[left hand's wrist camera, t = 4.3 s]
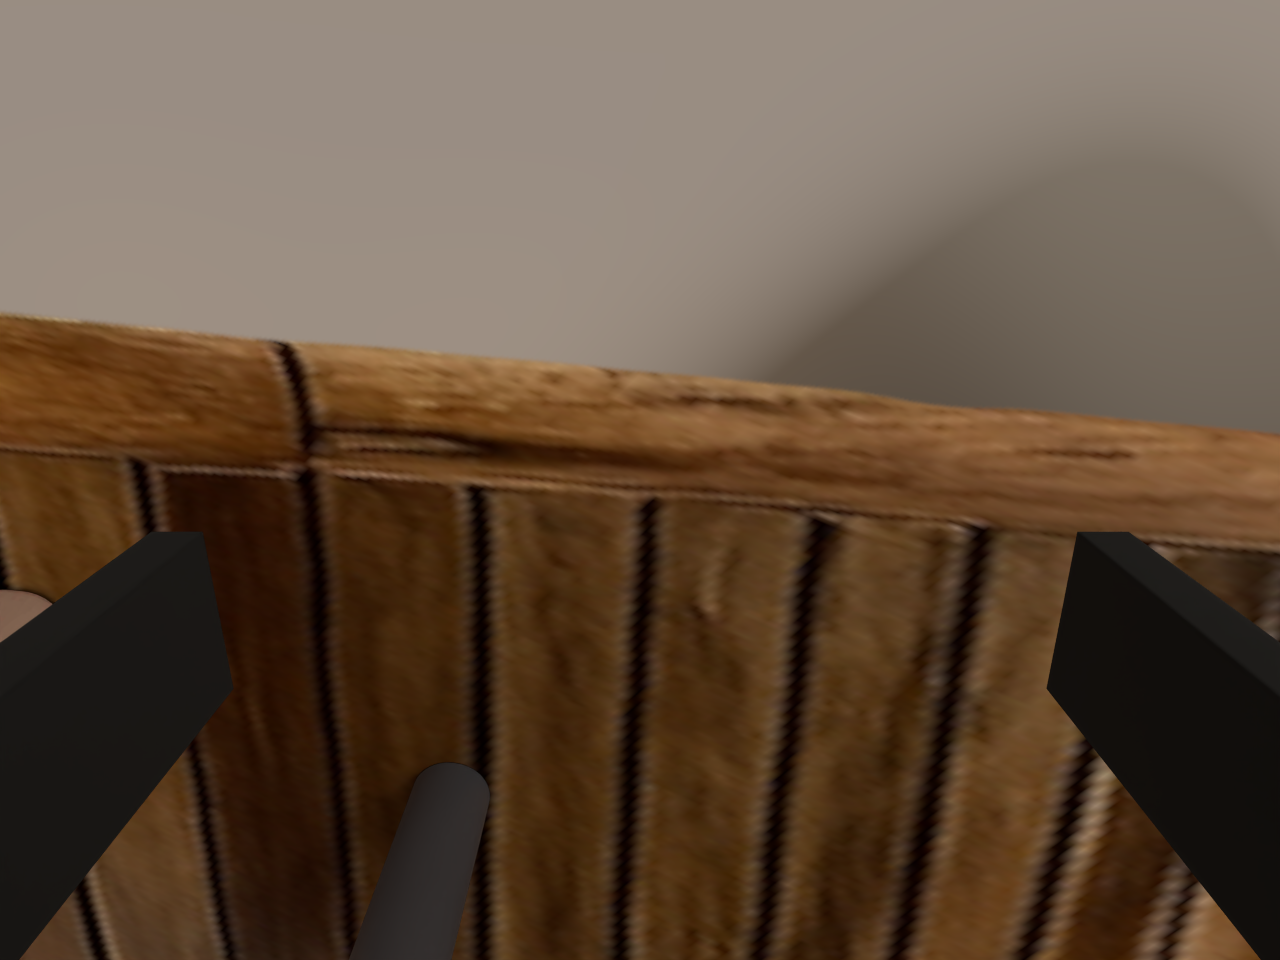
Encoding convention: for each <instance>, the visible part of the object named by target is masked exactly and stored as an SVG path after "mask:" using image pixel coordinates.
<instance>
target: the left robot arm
mask: <svg viewBox="0 0 1280 960" xmlns="http://www.w3.org/2000/svg"><path fill="white" fill-rule="evenodd" d="M232 690H233V684H232V679H231V674H230V669H229V664H228V659H227V653H226V648H225V643H224V638H223V633H222V628H221V623H220V618H219V613H218V608H217V603H216V598H215V593H214V588H213V582H212V577H211V572H210V567H209V562H208V557H207V552H206V547H205V542H204V537H203V532H151V533H149V534H148V535H147V536H145V537H144V538H142V539H141V540H140V541H138V542H137V543H136V544H134V545H133V546H132V547H130V548H129V549H127V550H126V551H125V552H123V553H122V554H121V555H119V556H118V557H116V558H115V559H114V560H112V561H111V562H110V563H108V564H107V565H106V566H104V567H103V568H101V569H100V570H99V571H97V572H96V573H95V574H93V575H92V576H91V577H89V578H88V579H86V580H85V581H84V582H82V583H81V584H80V585H78V586H77V587H75V588H74V589H73V590H71V591H70V592H69V593H67V594H66V595H65V596H63V597H62V598H60V599H59V600H58V601H56V602H55V603H54V604H52V605H51V606H50V607H48V608H47V609H45V610H44V611H43V612H41V613H40V614H39V615H37V616H36V617H34V618H33V619H32V620H30V621H29V622H28V623H26V624H25V625H24V626H22V627H21V628H19V629H18V630H17V631H15V632H14V633H13V634H11V635H10V636H9V637H7V638H6V639H4V640H3V641H2V642H0V960H19V959H20V958H21V957H22V955H23V954H24V953H25V952H26V950H27V949H28V948H29V946H30V945H31V944H32V943H33V941H34V940H35V939H36V938H37V936H38V935H39V934H40V933H41V931H42V930H43V929H44V927H45V926H46V925H47V924H48V922H49V921H50V920H51V919H52V917H53V916H54V915H55V914H56V912H57V911H58V910H59V909H60V907H61V906H62V905H63V903H64V902H65V901H66V900H67V898H68V897H69V896H70V895H71V893H72V892H73V891H74V890H75V888H76V887H77V886H78V884H79V883H80V882H81V881H82V879H83V878H84V877H85V876H86V874H87V873H88V872H89V871H90V869H91V868H92V867H93V866H94V864H95V863H96V862H97V860H98V859H99V858H100V857H101V855H102V854H103V853H104V852H105V850H106V849H107V848H108V847H109V845H110V844H111V843H112V842H113V840H114V839H115V838H116V836H117V835H118V834H119V833H120V831H121V830H122V829H123V828H124V826H125V825H126V824H127V823H128V821H129V820H130V819H131V817H132V816H133V815H134V814H135V812H136V811H137V810H138V809H139V807H140V806H141V805H142V804H143V802H144V801H145V800H146V799H147V797H148V796H149V795H150V793H151V792H152V791H153V790H154V788H155V787H156V786H157V785H158V783H159V782H160V781H161V780H162V778H163V777H164V776H165V774H166V773H167V772H168V771H169V769H170V768H171V767H172V766H173V764H174V763H175V762H176V761H177V759H178V758H179V757H180V756H181V754H182V753H183V752H184V750H185V749H186V748H187V747H188V745H189V744H190V743H191V742H192V740H193V739H194V738H195V737H196V735H197V734H198V733H199V731H200V730H201V729H202V728H203V726H204V725H205V724H206V723H207V721H208V720H209V719H210V718H211V716H212V715H213V714H214V713H215V711H216V710H217V709H218V707H219V706H220V705H221V704H222V702H223V701H224V700H225V699H226V697H227V696H228V695H229V694H230V692H231V691H232ZM1047 690H1048V691H1049V692H1050V694H1051V695H1052V696H1053V697H1054V699H1055V700H1056V701H1057V702H1058V704H1059V705H1060V706H1061V707H1062V709H1063V710H1064V711H1065V713H1066V714H1067V715H1068V716H1069V718H1070V719H1071V720H1072V721H1073V723H1074V724H1075V725H1076V726H1077V728H1078V729H1079V730H1080V731H1081V733H1082V734H1083V735H1084V737H1085V738H1086V739H1087V740H1088V742H1089V743H1090V744H1091V745H1092V747H1093V748H1094V749H1095V750H1096V752H1097V753H1098V754H1099V756H1100V757H1101V758H1102V759H1103V761H1104V762H1105V763H1106V764H1107V766H1108V767H1109V768H1110V769H1111V771H1112V772H1113V773H1114V774H1115V776H1116V777H1117V778H1118V780H1119V781H1120V782H1121V783H1122V785H1123V786H1124V787H1125V788H1126V790H1127V791H1128V792H1129V793H1130V795H1131V796H1132V797H1133V799H1134V800H1135V801H1136V802H1137V804H1138V805H1139V806H1140V807H1141V809H1142V810H1143V811H1144V812H1145V814H1146V815H1147V816H1148V817H1149V819H1150V820H1151V821H1152V823H1153V824H1154V825H1155V826H1156V828H1157V829H1158V830H1159V831H1160V833H1161V834H1162V835H1163V836H1164V838H1165V839H1166V840H1167V842H1168V843H1169V844H1170V845H1171V847H1172V848H1173V849H1174V850H1175V852H1176V853H1177V854H1178V855H1179V857H1180V858H1181V859H1182V860H1183V862H1184V863H1185V864H1186V866H1187V867H1188V868H1189V869H1190V871H1191V872H1192V873H1193V874H1194V876H1195V877H1196V878H1197V879H1198V881H1199V882H1200V883H1201V884H1202V886H1203V887H1204V888H1205V890H1206V891H1207V892H1208V893H1209V895H1210V896H1211V897H1212V898H1213V900H1214V901H1215V902H1216V903H1217V905H1218V906H1219V907H1220V909H1221V910H1222V911H1223V912H1224V914H1225V915H1226V916H1227V917H1228V919H1229V920H1230V921H1231V922H1232V924H1233V925H1234V926H1235V927H1236V929H1237V930H1238V931H1239V933H1240V934H1241V935H1242V936H1243V938H1244V939H1245V940H1246V941H1247V943H1248V944H1249V945H1250V946H1251V948H1252V949H1253V950H1254V952H1255V953H1256V954H1257V955H1258V957H1259V958H1260V959H1261V960H1280V642H1278V641H1277V640H1276V639H1274V638H1273V637H1271V636H1270V635H1269V634H1267V633H1266V632H1265V631H1263V630H1262V629H1261V628H1259V627H1258V626H1256V625H1255V624H1254V623H1252V622H1251V621H1250V620H1248V619H1247V618H1246V617H1244V616H1243V615H1241V614H1240V613H1239V612H1237V611H1236V610H1235V609H1233V608H1232V607H1230V606H1229V605H1228V604H1226V603H1225V602H1224V601H1222V600H1221V599H1220V598H1218V597H1217V596H1215V595H1214V594H1213V593H1211V592H1210V591H1209V590H1207V589H1206V588H1205V587H1203V586H1202V585H1200V584H1199V583H1198V582H1196V581H1195V580H1194V579H1192V578H1191V577H1189V576H1188V575H1187V574H1185V573H1184V572H1183V571H1181V570H1180V569H1179V568H1177V567H1176V566H1174V565H1173V564H1172V563H1170V562H1169V561H1168V560H1166V559H1165V558H1164V557H1162V556H1161V555H1159V554H1158V553H1157V552H1155V551H1154V550H1153V549H1151V548H1150V547H1148V546H1147V545H1146V544H1144V543H1143V542H1142V541H1140V540H1139V539H1138V538H1136V537H1135V536H1133V535H1132V534H1131V533H1129V532H1077V537H1076V542H1075V547H1074V552H1073V557H1072V562H1071V567H1070V572H1069V577H1068V582H1067V588H1066V593H1065V598H1064V603H1063V608H1062V613H1061V618H1060V623H1059V628H1058V633H1057V638H1056V643H1055V648H1054V653H1053V659H1052V664H1051V669H1050V674H1049V679H1048V684H1047Z"/></svg>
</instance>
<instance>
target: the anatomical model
mask: <svg viewBox="0 0 1280 960" xmlns="http://www.w3.org/2000/svg"><path fill="white" fill-rule="evenodd" d="M51 605H52V603H50V602H49V601H48V600H46V599H45V598H43V597H41V596H38V595H36V594H33V593H29V592H24V591H14V590H0V642H2V641H3V640H4V639H6V638H7V637H9V636H10V635H11V634H13V633H14V632H15V631H17V630H18V629H19V628H21V627H22V626H24V625H25V624H26V623H28V622H29V621H30V620H32V619H33V618H34V617H36V616H37V615H39V614H40V613H41V612H43V611H44V610H45V609H47V608H48V607H50V606H51Z"/></svg>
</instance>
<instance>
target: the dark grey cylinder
mask: <svg viewBox="0 0 1280 960" xmlns="http://www.w3.org/2000/svg"><path fill="white" fill-rule="evenodd" d="M489 800H490V792H489V788H488V785H487V783H486V781H485V780H484V779H483V777H482V776H481V775H480V774H479V773H478V772H476V771H475V770H473V769H472V768H470V767H467V766H465V765H462V764H458V763H440V764H436V765H433V766H431V767H429V768H427V769H425V770H424V771H423V772H422V773H421V774H420V775H419V776H418V777H417V779H416V781H415V783H414V786H413V788H412V791H411V794H410V797H409V799H408V802H407V805H406V807H405V810H404V813H403V815H402V818H401V821H400V824H399V826H398V829H397V832H396V834H395V837H394V840H393V842H392V845H391V848H390V851H389V853H388V856H387V859H386V861H385V864H384V867H383V869H382V872H381V875H380V878H379V880H378V883H377V886H376V888H375V891H374V894H373V896H372V899H371V902H370V904H369V907H368V910H367V913H366V915H365V918H364V921H363V923H362V926H361V929H360V931H359V934H358V937H357V940H356V942H355V945H354V948H353V950H352V953H351V956H350V958H349V960H451V959H452V955H453V951H454V946H455V942H456V938H457V934H458V930H459V926H460V921H461V917H462V913H463V909H464V905H465V901H466V896H467V892H468V888H469V884H470V880H471V876H472V872H473V867H474V863H475V859H476V855H477V851H478V847H479V842H480V838H481V834H482V830H483V826H484V822H485V817H486V813H487V809H488V805H489Z"/></svg>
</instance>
